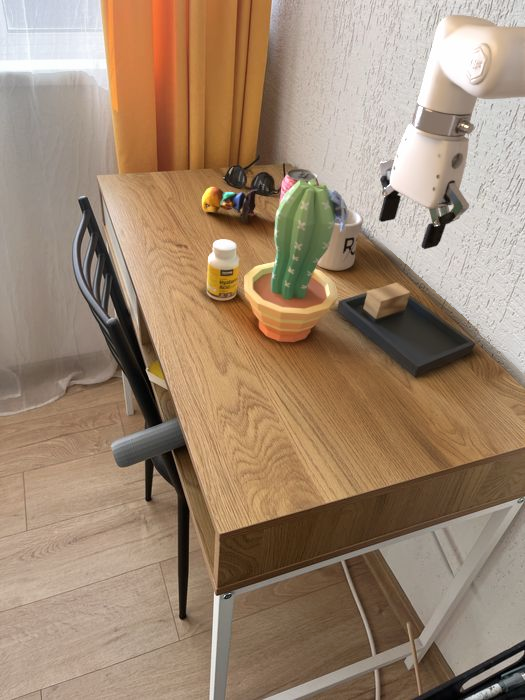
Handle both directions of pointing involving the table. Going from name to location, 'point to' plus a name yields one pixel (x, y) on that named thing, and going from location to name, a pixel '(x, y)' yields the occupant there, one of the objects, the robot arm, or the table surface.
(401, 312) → the wooden block
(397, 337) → the tray
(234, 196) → the figurine
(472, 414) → the table surface
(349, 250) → the mug
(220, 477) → the table surface
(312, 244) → the potted cactus
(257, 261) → the table surface
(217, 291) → the supplement bottle
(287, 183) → the beverage can
